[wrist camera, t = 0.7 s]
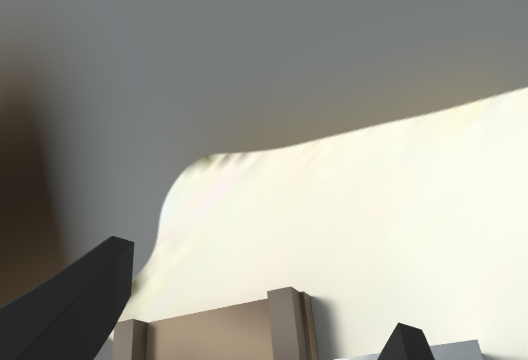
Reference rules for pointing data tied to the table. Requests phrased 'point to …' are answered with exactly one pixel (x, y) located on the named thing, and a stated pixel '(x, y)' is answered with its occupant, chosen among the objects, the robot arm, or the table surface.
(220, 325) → the board
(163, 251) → the table surface
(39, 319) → the robot arm
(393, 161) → the table surface
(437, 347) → the block
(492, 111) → the table surface
